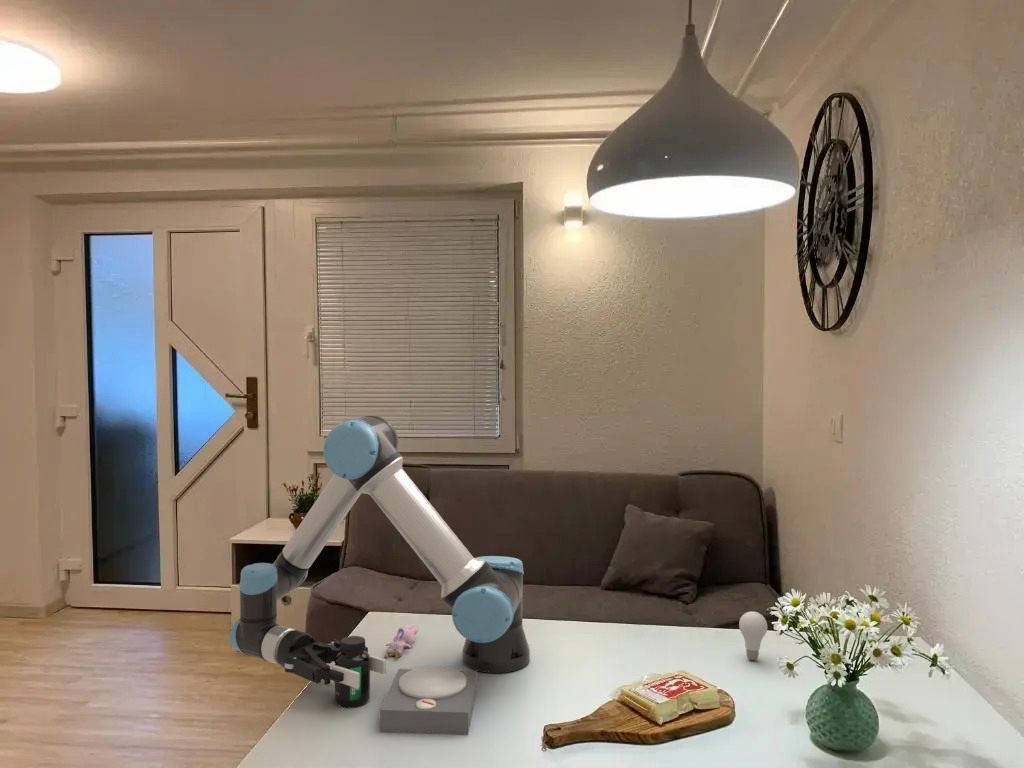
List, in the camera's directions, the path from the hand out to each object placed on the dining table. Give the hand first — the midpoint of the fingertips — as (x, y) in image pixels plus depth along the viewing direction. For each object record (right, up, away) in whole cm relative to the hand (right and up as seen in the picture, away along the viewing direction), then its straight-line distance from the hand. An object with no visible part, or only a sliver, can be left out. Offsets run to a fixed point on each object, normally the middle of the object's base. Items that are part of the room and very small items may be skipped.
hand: (371, 673), depth 146 cm
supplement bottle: (-4, -7, +3) cm, 8 cm away
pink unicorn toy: (+2, -6, +30) cm, 31 cm away
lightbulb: (+82, -7, +26) cm, 86 cm away
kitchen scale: (+12, -7, -1) cm, 13 cm away
